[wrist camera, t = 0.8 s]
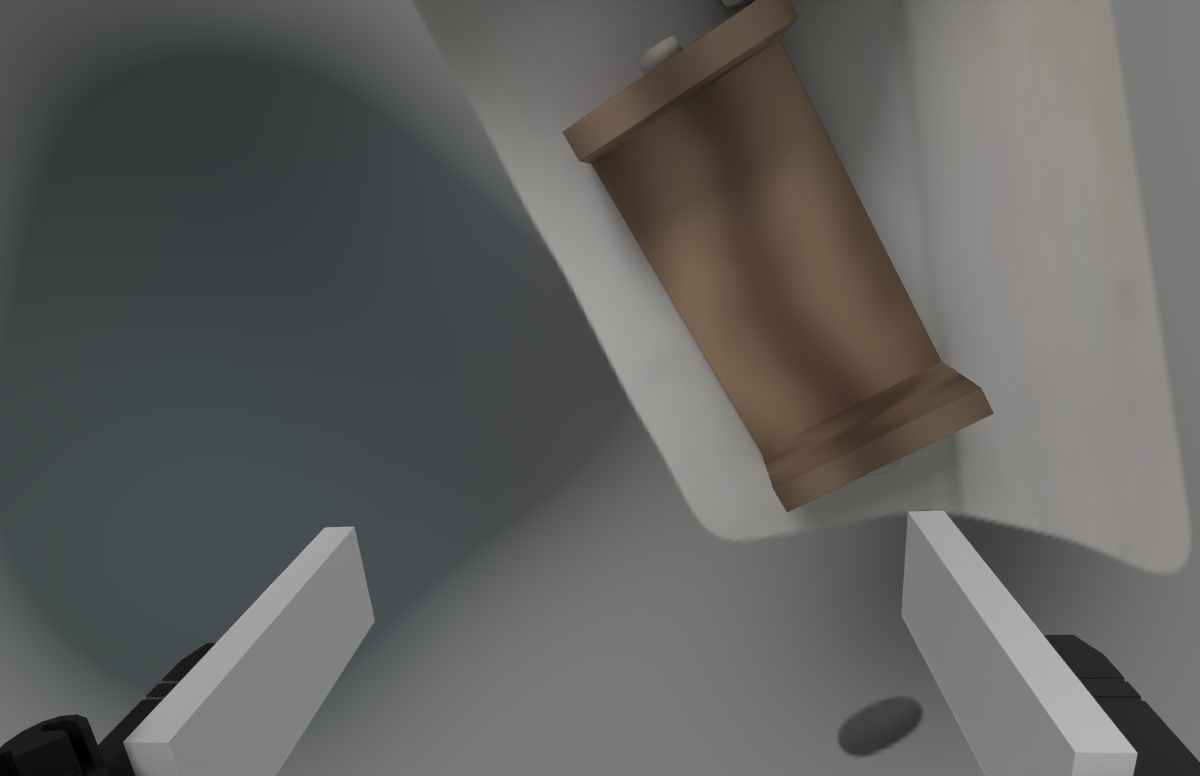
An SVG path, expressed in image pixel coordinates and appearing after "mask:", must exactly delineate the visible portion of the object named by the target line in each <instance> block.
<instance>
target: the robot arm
mask: <svg viewBox="0 0 1200 776" xmlns="http://www.w3.org/2000/svg"><path fill="white" fill-rule="evenodd" d="M902 617H903V619H904V621H905V623H906V625H907V627H908V629H909V631H910V632H911V634H912V636H913V638H914V640H915V642H916V644H917V646H918V648H919V650H920V652H921V654H922V655H923V657H924V659H925V661H926V663H927V665H928V667H929V669H930V671H931V673H932V674H933V676H934V678H935V680H936V682H937V684H938V686H939V688H940V690H941V692H942V694H943V696H944V698H945V700H946V702H947V703H948V705H949V707H950V709H951V711H952V713H953V715H954V717H955V719H956V721H957V723H958V725H959V727H960V728H961V730H962V732H963V734H964V736H965V738H966V740H967V742H968V744H969V746H970V747H971V750H972V751H973V753H974V755H975V757H976V759H977V761H978V763H979V765H980V767H981V769H982V771H983V773H984V775H985V776H1200V762H1199V761H1198V760H1197V759H1196V758H1195V757H1194V755H1193V754H1192V753H1191V752H1190V751H1189V750H1188V749H1187V748H1186V746H1185V745H1184V744H1183V743H1182V742H1181V741H1180V740H1179V739H1178V738H1177V736H1176V735H1174V733H1173V732H1172V731H1171V730H1170V729H1169V727H1167V725H1166V724H1165V723H1164V722H1163V721H1162V720H1161V718H1160V717H1159V716H1158V715H1157V714H1156V713H1155V712H1154V711H1153V710H1152V709H1151V707H1150V706H1149V705H1148V704H1147V703H1146V702H1145V701H1142V700H1141V696H1140V695H1139V694H1138V693H1137V692H1136V690H1135V689H1134V688H1133V687H1132V686H1131V685H1130V684H1129V683H1128V682H1125V681H1124V677H1123V676H1122V675H1121V674H1120V672H1119V671H1118V670H1117V669H1116V668H1115V667H1114V666H1113V665H1112V664H1111V663H1110V661H1109V660H1108V659H1107V658H1106V657H1105V656H1104V655H1103V654H1102V653H1100V652H1099V651H1097V650H1096V649H1094V648H1093V647H1091V646H1090V645H1088V644H1087V643H1085V642H1083V641H1082V640H1081V639H1079V638H1078V637H1076V636H1074V635H1043V634H1042V633H1041V632H1040V630H1039V629H1038V628H1037V627H1036V626H1035V624H1034V623H1033V622H1032V621H1031V619H1030V618H1029V617H1028V616H1027V614H1026V613H1025V612H1024V610H1023V609H1022V608H1021V607H1020V605H1019V604H1018V603H1017V602H1016V601H1015V599H1014V598H1013V597H1012V595H1011V594H1010V593H1009V592H1008V590H1007V589H1006V588H1005V587H1004V585H1003V584H1002V583H1001V582H1000V580H999V579H998V578H997V577H996V576H995V574H994V573H993V572H992V570H991V569H990V568H989V567H988V565H987V564H986V563H985V562H984V560H983V559H982V558H981V557H980V555H979V554H978V553H977V552H976V551H975V549H974V548H973V547H972V545H971V544H970V543H969V542H968V540H967V539H966V538H965V537H964V535H963V534H962V533H961V532H960V531H959V529H958V528H957V527H956V526H955V524H954V523H953V522H952V520H951V519H950V518H949V517H948V515H947V514H946V513H945V512H944V511H912V512H908V521H907V536H906V552H905V570H904V584H903V600H902ZM374 621H375V620H374V616H373V611H372V607H371V602H370V597H369V593H368V589H367V583H366V579H365V574H364V569H363V565H362V560H361V556H360V551H359V546H358V542H357V537H356V533H355V528H354V527H331V528H324V529H323V530H322V531H321V532H320V534H319V535H318V536H317V537H316V538H315V539H314V540H313V541H312V542H311V543H310V544H309V545H308V546H307V547H306V549H305V550H303V552H302V553H301V554H300V555H299V556H298V557H297V558H296V559H295V560H294V561H293V562H292V563H291V564H290V565H289V566H288V568H287V569H286V570H285V571H284V572H283V573H282V574H281V575H280V576H279V577H278V578H277V579H276V580H275V581H274V583H272V584H271V586H270V587H269V588H268V589H267V590H266V591H265V592H264V593H263V594H262V595H261V596H260V597H259V599H257V600H256V602H255V603H254V604H253V605H252V606H251V607H250V608H249V609H248V610H247V611H246V612H245V613H244V614H243V615H242V616H241V617H240V618H239V620H238V621H237V622H236V623H235V624H234V625H233V626H232V627H231V628H230V629H229V630H228V631H227V632H226V634H225V635H223V637H222V638H221V639H220V640H219V641H218V642H217V643H206V644H205V645H203V646H202V647H200V648H199V649H198V650H196V651H195V652H193V653H191V654H190V655H188V656H187V657H185V658H184V659H182V660H181V661H180V662H179V663H178V664H177V665H176V666H175V667H174V668H173V669H172V670H171V671H170V672H169V673H168V674H167V675H166V676H165V677H164V678H163V679H162V683H161V684H157V685H156V686H155V687H154V689H153V690H152V691H151V692H150V693H149V694H148V695H147V696H146V699H145V700H142V701H141V702H140V703H139V704H138V705H137V706H136V707H135V708H134V709H133V710H132V711H131V712H130V713H129V714H128V715H127V716H126V717H125V718H124V719H123V720H122V721H121V722H120V723H119V724H118V725H117V726H116V727H115V728H114V729H113V730H112V731H111V732H110V733H109V734H108V736H106V738H105V739H103V741H102V742H101V743H100V744H99V745H97V742H96V740H95V737H94V735H93V732H92V729H91V727H90V724H89V722H88V720H87V718H85V717H82V716H79V715H65V716H60V717H56V718H53V719H49V720H46V721H43V722H41V723H39V724H37V725H35V726H32V727H30V728H29V729H26V730H24V731H22V732H21V733H19V734H18V735H16V736H15V737H13V738H12V739H11V740H9V741H8V742H6V743H5V744H4V745H3V746H2V747H1V748H0V776H276V774H277V773H278V771H279V770H280V768H281V767H282V765H283V763H284V762H285V760H286V759H287V757H288V756H289V754H290V752H291V751H292V749H293V748H294V746H295V745H296V743H297V742H298V740H299V738H300V737H301V735H302V734H303V732H304V730H305V729H306V727H307V726H308V724H309V723H310V721H311V720H312V718H313V717H314V715H315V713H316V712H317V710H318V709H319V707H320V706H321V704H322V702H323V701H324V699H325V698H326V696H327V695H328V693H329V692H330V690H331V688H332V687H333V685H334V684H335V682H336V681H337V679H338V677H339V676H340V674H341V673H342V671H343V670H344V668H345V667H346V665H347V663H348V662H349V660H350V659H351V657H352V655H353V654H354V652H355V651H356V649H357V648H358V646H359V645H360V643H361V642H362V640H363V638H364V637H365V635H366V634H367V632H368V631H369V629H370V627H371V626H372V624H373V623H374Z"/></svg>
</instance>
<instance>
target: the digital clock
mask: <svg viewBox="0 0 1200 776" xmlns="http://www.w3.org/2000/svg"><path fill="white" fill-rule="evenodd" d="M721 1H722V2H723V4H724V5H725V6H727V7H728V6H729V7H742V6H746V5H749V4H751V3H753V2H754V1H756V0H721Z"/></svg>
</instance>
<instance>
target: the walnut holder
mask: <svg viewBox="0 0 1200 776" xmlns="http://www.w3.org/2000/svg"><path fill="white" fill-rule="evenodd" d="M796 18H797V15H796V13H795V11H794V9H793V7H792V5H791V3H790V1H789V0H756V1H754V2H753V3H751V4H750V5H748V6H747V7H745V8H744V9H743V10H741V11H740V12H738V13H737V14H735V15H734V16H732V17H731V18H729V19H728V20H726V21H725V22H723V23H722V24H720V25H719V26H717V27H716V28H715V29H713V30H712V31H710V32H709V33H707V34H706V35H704V36H703V37H701V38H700V39H698V40H697V41H695V42H694V43H692V44H691V45H690V46H688V47H687V48H685V49H684V50H682V48H681V46H680V44H679V42H678V40H677V39H676V37H675V35H672V36H670V37H668V38H666V39H664V40H662V41H661V42H659V43H658V44H656V45H655V46H653V47H652V48H651V49H649V50H648V51H647V52H646V53H644V54H643V55H642V56H641V57H640V58H639V60H638V63H639V65H640V66H641V68H642V70H643V72H644V74H645V76H644V77H642V78H641V79H639V80H638V81H637V82H635V83H634V84H632V85H631V86H629V87H628V88H626V89H625V90H623V91H622V92H620V93H619V94H617V95H616V96H614V97H613V98H611V99H610V100H609V101H607V102H606V103H604V104H603V105H601V106H600V107H598V108H597V109H595V110H594V111H592V112H591V113H589V114H588V115H586V116H585V117H583V118H582V119H581V120H579V121H578V122H576V123H575V124H573V125H572V126H570V127H569V128H567V129H566V130H564V131H563V134H564V136H565V137H566V139H567V141H568V142H569V144H570V146H571V147H572V149H573V151H574V153H575V154H576V156H577V158H578V159H579V161H581V162H586V163H591V164H592V165H593V167H594V169H595V170H596V172H597V174H598V175H599V177H600V179H601V181H602V182H603V184H604V186H605V187H606V189H607V191H608V192H609V194H610V196H611V198H612V199H613V201H614V203H615V204H616V206H617V208H618V210H619V211H620V213H621V215H622V216H623V218H624V220H625V221H626V223H627V225H628V227H629V228H630V230H631V232H632V233H633V235H634V237H635V238H636V240H637V242H638V244H639V245H640V247H641V249H642V250H643V252H644V254H645V255H646V257H647V259H648V261H649V262H650V264H651V266H652V267H653V269H654V271H655V272H656V274H657V276H658V278H659V279H660V281H661V283H662V284H663V286H664V288H665V289H666V291H667V293H668V295H669V296H670V298H671V300H672V301H673V303H674V305H675V306H676V308H677V310H678V312H679V313H680V315H681V317H682V318H683V320H684V322H685V323H686V325H687V327H688V329H689V330H690V332H691V334H692V335H693V337H694V339H695V341H696V342H697V344H698V346H699V347H700V349H701V351H702V352H703V354H704V356H705V358H706V359H707V361H708V363H709V364H710V366H711V368H712V369H713V371H714V373H715V375H716V376H717V378H718V380H719V381H720V383H721V385H722V386H723V388H724V390H725V392H726V393H727V395H728V397H729V398H730V400H731V402H732V403H733V405H734V407H735V409H736V410H737V412H738V414H739V415H740V417H741V419H742V420H743V422H744V424H745V426H746V427H747V429H748V431H749V432H750V434H751V436H752V437H753V439H754V441H755V443H756V444H757V446H758V448H759V449H760V451H761V453H762V456H763V459H764V462H765V465H766V468H767V471H768V474H769V477H770V480H771V483H772V486H773V489H774V491H775V492H776V494H777V496H778V498H779V499H780V501H781V503H782V504H783V506H784V508H785V509H786V511H787V512H789V511H791V510H793V509H795V508H797V507H799V506H801V505H803V504H805V503H807V502H810V501H812V500H814V499H816V498H818V497H820V496H822V495H824V494H826V493H828V492H830V491H833V490H835V489H837V488H839V487H841V486H843V485H845V484H847V483H849V482H851V481H853V480H856V479H858V478H860V477H862V476H864V475H866V474H871V475H875V474H881V473H884V472H887V471H889V470H891V469H892V468H894V467H895V466H896V465H897V464H898V463H899V462H900V460H901V458H902V457H904V456H906V455H908V454H910V453H912V452H914V451H916V450H918V449H920V448H923V447H925V446H927V445H929V444H931V443H933V442H935V441H937V440H939V439H941V438H943V437H946V436H948V435H950V434H952V433H954V432H956V431H958V430H960V429H962V428H964V427H966V426H969V425H971V424H973V423H975V422H977V421H979V420H981V419H983V418H985V417H987V416H990V415H992V414H994V413H993V411H992V409H991V407H990V405H989V403H988V401H987V399H986V397H985V395H984V393H983V391H982V389H981V388H980V387H979V386H978V385H976V384H975V383H973V382H972V381H970V380H969V379H967V378H966V377H964V376H963V375H961V374H960V373H958V372H957V371H955V370H954V369H952V368H951V367H949V366H948V365H946V364H945V363H943V362H942V361H941V359H940V357H939V355H938V353H937V351H936V349H935V347H934V346H933V344H932V342H931V340H930V338H929V336H928V334H927V332H926V330H925V328H924V326H923V324H922V322H921V320H920V318H919V316H918V314H917V312H916V310H915V308H914V306H913V304H912V302H911V300H910V298H909V296H908V294H907V292H906V290H905V288H904V286H903V284H902V282H901V280H900V278H899V276H898V274H897V272H896V270H895V268H894V266H893V264H892V262H891V260H890V258H889V256H888V254H887V252H886V250H885V248H884V246H883V244H882V242H881V240H880V238H879V236H878V234H877V233H876V231H875V229H874V227H873V225H872V223H871V221H870V219H869V217H868V215H867V213H866V211H865V209H864V207H863V205H862V203H861V201H860V199H859V197H858V195H857V193H856V191H855V189H854V187H853V185H852V183H851V181H850V179H849V177H848V175H847V173H846V171H845V169H844V167H843V165H842V163H841V161H840V159H839V157H838V155H837V153H836V151H835V149H834V147H833V145H832V143H831V141H830V139H829V137H828V135H827V133H826V131H825V129H824V127H823V125H822V123H821V121H820V119H819V118H818V116H817V114H816V112H815V110H814V108H813V106H812V104H811V102H810V100H809V98H808V96H807V94H806V92H805V90H804V88H803V86H802V84H801V82H800V80H799V78H798V76H797V74H796V72H795V70H794V68H793V66H792V64H791V62H790V60H789V58H788V56H787V54H786V52H785V50H784V48H783V46H782V44H781V42H780V38H781V37H782V36H783V35H784V33H785V32H786V31H787V30H788V28H789V27H790V26H791V24H792V23H793V22H794V21H795V19H796Z"/></svg>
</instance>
